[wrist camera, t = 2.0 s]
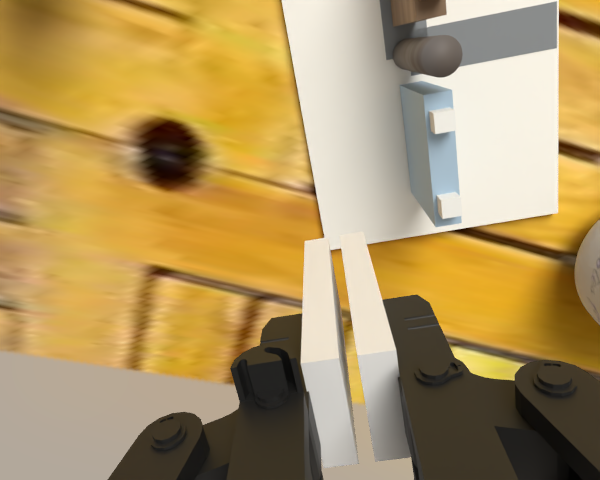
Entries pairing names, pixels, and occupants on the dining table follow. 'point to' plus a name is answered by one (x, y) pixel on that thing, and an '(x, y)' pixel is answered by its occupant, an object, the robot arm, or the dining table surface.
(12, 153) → the dining table surface
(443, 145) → the fence panel
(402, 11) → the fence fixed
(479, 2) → the card
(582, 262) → the teacup
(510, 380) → the robot arm
